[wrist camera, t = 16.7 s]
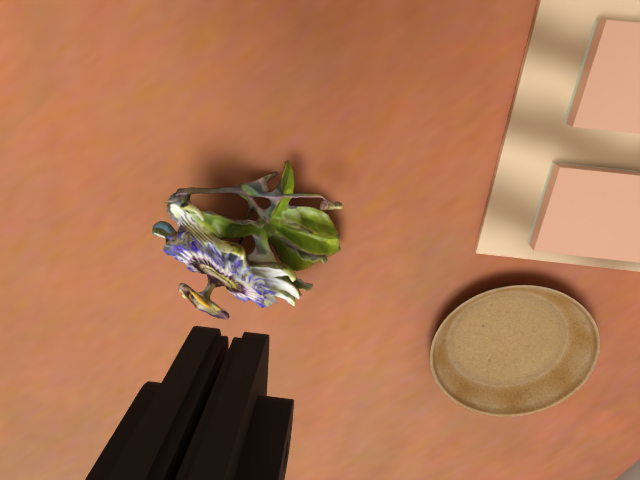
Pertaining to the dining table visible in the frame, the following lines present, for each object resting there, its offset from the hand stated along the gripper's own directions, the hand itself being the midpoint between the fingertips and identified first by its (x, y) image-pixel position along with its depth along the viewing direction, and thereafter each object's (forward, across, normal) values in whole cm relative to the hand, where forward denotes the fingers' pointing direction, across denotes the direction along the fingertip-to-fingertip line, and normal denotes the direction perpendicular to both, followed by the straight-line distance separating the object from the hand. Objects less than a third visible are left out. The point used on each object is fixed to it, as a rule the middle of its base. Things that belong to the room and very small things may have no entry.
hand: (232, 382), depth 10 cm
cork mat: (+29, -21, -1) cm, 36 cm away
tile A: (+28, -18, -6) cm, 34 cm away
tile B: (+28, -18, +4) cm, 33 cm away
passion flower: (+29, +5, +8) cm, 31 cm away
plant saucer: (+30, -19, +18) cm, 40 cm away
